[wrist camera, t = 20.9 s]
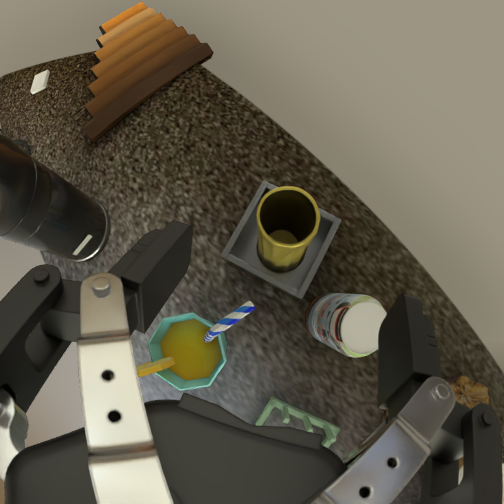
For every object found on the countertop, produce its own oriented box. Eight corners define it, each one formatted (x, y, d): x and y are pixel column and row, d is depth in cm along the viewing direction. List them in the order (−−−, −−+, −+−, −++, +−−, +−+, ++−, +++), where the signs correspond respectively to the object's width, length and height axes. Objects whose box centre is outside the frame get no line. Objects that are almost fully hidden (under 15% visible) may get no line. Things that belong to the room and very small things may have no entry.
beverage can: (312, 287, 39) (330, 277, 28) (366, 303, 39) (403, 301, 27) (296, 335, 39) (308, 346, 27) (351, 351, 38) (383, 367, 26)
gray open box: (226, 263, 40) (220, 255, 35) (264, 196, 42) (263, 180, 36) (297, 300, 39) (301, 299, 34) (332, 231, 41) (341, 219, 35)
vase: (281, 283, 39) (288, 269, 25) (246, 247, 40) (234, 214, 26) (315, 248, 40) (341, 216, 26) (281, 214, 41) (287, 166, 26)
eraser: (47, 69, 48) (35, 75, 49) (43, 85, 48) (30, 91, 48) (50, 72, 50) (37, 78, 50) (46, 88, 49) (33, 94, 49)
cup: (240, 280, 40) (223, 263, 25) (276, 331, 39) (281, 344, 24) (152, 342, 39) (95, 355, 24) (186, 391, 38) (145, 430, 23)
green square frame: (234, 454, 36) (228, 475, 30) (271, 395, 37) (272, 410, 31) (299, 482, 35) (303, 505, 29) (338, 426, 36) (349, 443, 30)
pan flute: (95, 145, 45) (213, 60, 49) (88, 136, 41) (213, 47, 46) (42, 77, 46) (140, 9, 50) (36, 68, 43) (138, -1, 47)
